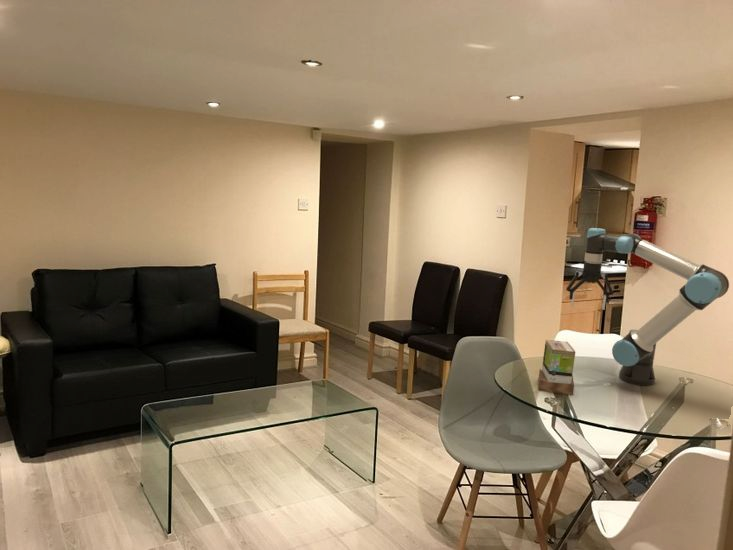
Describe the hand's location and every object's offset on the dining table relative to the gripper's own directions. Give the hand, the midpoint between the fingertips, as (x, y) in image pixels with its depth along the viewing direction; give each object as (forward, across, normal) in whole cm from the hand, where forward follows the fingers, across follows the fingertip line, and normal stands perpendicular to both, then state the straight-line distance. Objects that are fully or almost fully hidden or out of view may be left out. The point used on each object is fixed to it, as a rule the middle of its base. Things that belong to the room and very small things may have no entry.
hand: (587, 307), depth 272 cm
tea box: (+27, +13, +24) cm, 38 cm away
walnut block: (+32, +13, +23) cm, 42 cm away
